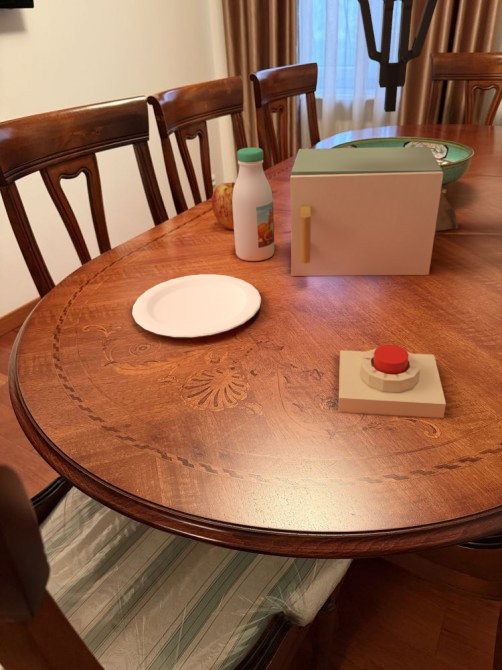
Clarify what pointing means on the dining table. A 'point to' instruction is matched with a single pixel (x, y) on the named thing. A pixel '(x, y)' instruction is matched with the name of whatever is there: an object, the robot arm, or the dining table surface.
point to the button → (390, 359)
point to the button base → (390, 386)
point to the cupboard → (364, 161)
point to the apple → (224, 204)
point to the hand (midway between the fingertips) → (389, 110)
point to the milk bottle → (252, 208)
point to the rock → (445, 216)
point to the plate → (196, 306)
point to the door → (363, 223)
